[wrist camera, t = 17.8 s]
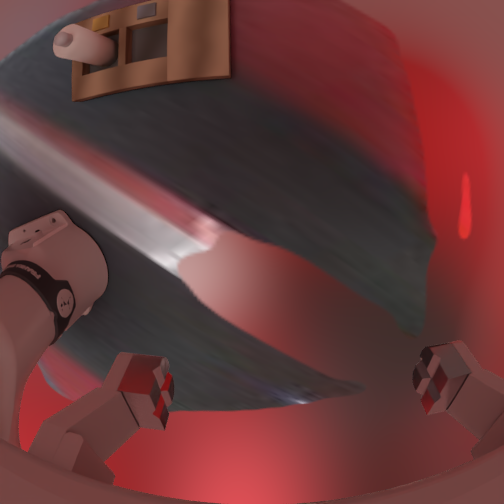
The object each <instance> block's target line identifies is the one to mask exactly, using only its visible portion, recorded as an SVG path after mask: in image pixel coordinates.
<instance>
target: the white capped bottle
mask: <svg viewBox="0 0 504 504" xmlns="http://www.w3.org/2000/svg"><path fill="white" fill-rule="evenodd" d="M118 47H119V44H118V43H117V42H116V41H113V40H111V39H109V38H107V37H105V36H102V35H100V34H98V33H96V32H93V31H91V30H89V29H86V28H84V27H81V26H79V25H76V24H71V25H68V26H66V27H64V28H63V29H62V30H61V31H60V32H59V33H58V34H57V35H56V36H55V38H54V44H53V51H54V53H55V55H56V56H57V57H60V58H65V59H70V60H74V61H79V62H83V63H88V64H92V65H96V66H100V67H108V66H110V65H112V64H113V63H114V62H115V61H116V60H117V59H118Z"/></svg>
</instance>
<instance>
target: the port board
mask: <svg viewBox="0 0 504 504" xmlns="http://www.w3.org/2000/svg"><path fill="white" fill-rule="evenodd" d="M76 25H79V26H81V27H84V28H86V29H89V30H91V31H93V32H96V33H98V34H100V35H102V36H105V37H107V38H109V39H111V40H113V41H116V42H117V43H118V44H119V47H118V59H117V60H116V61H115V62H114V63H113V64H112V65H110V66H108V67H100V66H96V65H92V64H88V63H83V62H79V61H74V60H72V101H73V102H83V101H86V100H90V99H94V98H98V97H102V96H107V95H111V94H116V93H120V92H125V91H130V90H136V89H141V88H147V87H153V86H160V85H167V84H174V83H183V82H192V81H202V80H215V79H231V45H230V0H152V1H148V2H144V3H139V4H135V5H132V6H128V7H124V8H120V9H117V10H114V11H110V12H107V13H104V14H101V15H98V16H95V17H92V18H89V19H86V20H84V21H81V22H78V23H76Z"/></svg>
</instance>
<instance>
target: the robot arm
mask: <svg viewBox="0 0 504 504" xmlns="http://www.w3.org/2000/svg"><path fill="white" fill-rule="evenodd" d="M54 219H55V220H56V221H55V220H54ZM8 241H9V247H8V248H6V249H5V250H4V251H3V253H2V256H1V265H2V271H3V272H2V273H1V275H0V504H218V503H207V502H197V501H189V500H182V499H175V498H169V497H163V496H157V495H153V494H148V493H143V492H138V491H134V490H130V489H126V488H122V487H119V486H114V485H113V482H114V478H115V475H114V473H113V472H112V471H111V469H110V468H109V467H108V466H107V465H106V464H105V463H104V461H105V460H107V459H108V458H109V457H110V456H111V455H112V454H113V453H114V452H115V451H116V450H117V449H118V448H120V447H121V446H122V445H123V444H124V443H125V442H126V441H127V440H128V439H129V438H130V437H131V436H132V435H133V434H134V433H136V432H137V431H138V430H139V429H140V428H139V427H142V428H149V429H157V430H165V428H166V424H167V420H168V416H169V412H168V409H167V407H168V406H169V405H170V404H172V401H173V397H174V380H173V377H172V375H171V374H170V373H169V372H168V369H169V363H168V360H167V358H165V357H160V356H151V355H142V354H132V353H125V352H121V353H119V354H118V355H117V357H116V359H115V361H114V363H113V365H112V367H111V369H110V371H109V373H108V375H107V377H106V379H105V381H104V383H103V385H102V387H101V388H95V389H94V390H92V391H91V392H89V393H88V394H86V395H84V396H83V397H81V398H80V399H78V400H77V401H75V402H73V403H72V404H70V405H69V406H67V407H65V408H64V409H62V410H61V411H59V412H58V413H56V414H54V415H53V416H51V417H49V418H48V419H46V420H45V421H43V423H42V425H41V427H40V429H39V431H38V432H37V435H36V436H35V438H34V440H33V442H32V444H31V446H30V448H29V451H28V452H26V451H24V450H22V449H21V446H20V441H19V428H18V424H19V411H20V404H21V399H22V394H23V390H24V387H25V385H26V382H27V380H28V377H29V376H30V374H31V372H32V370H33V369H34V367H35V365H36V364H37V362H38V361H39V359H40V358H41V356H42V355H43V353H44V352H45V350H46V349H47V347H48V346H50V345H52V344H54V343H55V342H56V341H57V340H58V339H59V338H60V337H61V336H62V333H63V332H64V331H66V330H67V329H68V328H69V327H70V326H71V325H72V324H73V323H74V322H75V321H76V320H77V319H78V318H79V317H80V316H81V315H87V314H88V313H89V312H90V311H91V309H92V306H93V303H94V301H96V300H97V299H98V298H99V297H100V296H101V295H102V294H103V293H104V291H105V289H106V286H107V282H108V270H107V265H106V262H105V259H104V256H103V254H102V252H101V250H100V249H99V247H98V245H97V244H96V243H95V241H94V240H93V239H92V238H91V237H90V236H89V235H88V234H87V233H86V232H84V231H83V230H82V229H80V228H79V227H77V226H76V225H75V224H73V223H72V221H71V220H70V218H69V217H68V216H67V214H66V213H65V212H64V211H62V210H57V211H55V212H52V213H50V214H47V215H45V216H42V217H40V218H37V219H35V220H33V221H30V222H28V223H26V224H23V225H21V226H19V227H16V228H14V229H13V230H11V231H10V233H9V240H8ZM420 357H421V361H420V362H419V363H418V364H417V365H416V366H415V369H414V371H413V385H414V388H415V390H416V392H418V393H419V394H421V395H422V397H421V403H422V406H423V408H424V410H425V412H426V415H430V414H434V413H439V412H442V411H446V410H447V413H449V414H450V415H451V416H452V417H453V418H455V419H456V420H457V421H458V422H459V423H460V424H462V425H463V426H464V427H465V428H466V429H467V430H469V431H470V432H471V433H472V434H473V435H474V436H476V437H477V438H478V439H479V442H478V443H477V444H476V445H475V446H474V447H473V448H472V450H471V453H472V455H473V458H474V460H472V461H469V462H467V463H465V464H462V465H460V466H458V467H455V468H453V469H450V470H447V471H445V472H442V473H440V474H437V475H434V476H431V477H428V478H425V479H422V480H419V481H416V482H413V483H410V484H406V485H402V486H399V487H395V488H391V489H387V490H383V491H379V492H375V493H370V494H365V495H360V496H354V497H348V498H342V499H336V500H329V501H320V502H311V503H299V504H504V379H503V378H501V377H499V376H497V375H495V374H493V373H492V372H490V371H488V370H486V369H485V370H483V369H482V368H481V366H480V365H479V363H478V362H477V361H476V359H475V357H474V356H473V355H472V353H471V352H470V350H469V349H468V348H467V346H466V345H465V343H464V342H462V341H460V340H458V341H454V342H449V343H444V344H438V345H433V346H427V347H425V348H424V349H423V350H422V352H421V354H420Z"/></svg>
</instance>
